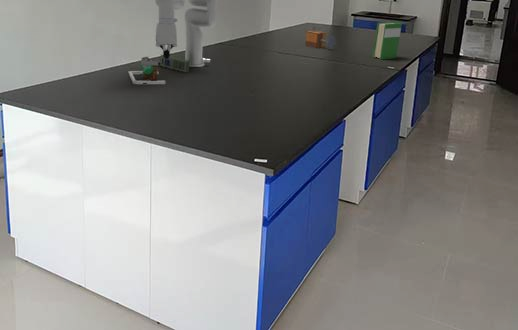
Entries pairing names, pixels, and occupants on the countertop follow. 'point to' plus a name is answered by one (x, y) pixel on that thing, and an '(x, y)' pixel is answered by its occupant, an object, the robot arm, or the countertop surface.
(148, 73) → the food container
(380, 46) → the hardback book
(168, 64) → the handheld radio
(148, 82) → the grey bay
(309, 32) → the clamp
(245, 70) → the countertop surface
